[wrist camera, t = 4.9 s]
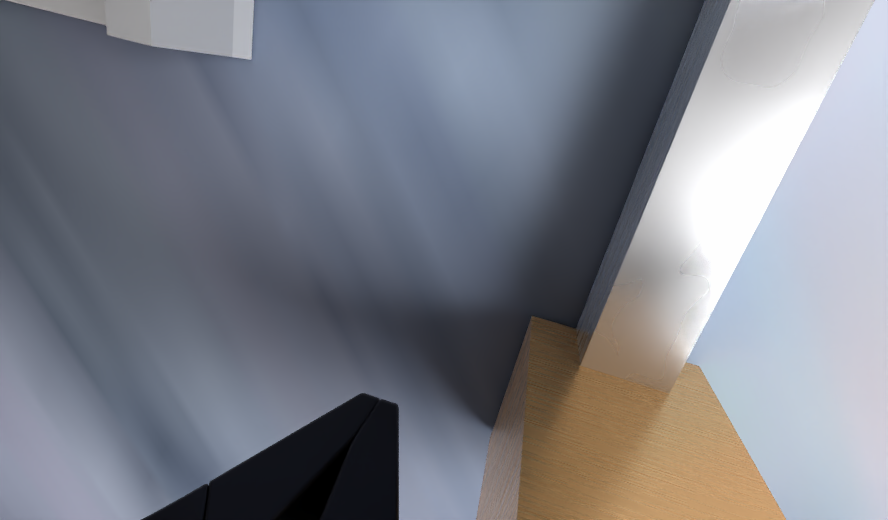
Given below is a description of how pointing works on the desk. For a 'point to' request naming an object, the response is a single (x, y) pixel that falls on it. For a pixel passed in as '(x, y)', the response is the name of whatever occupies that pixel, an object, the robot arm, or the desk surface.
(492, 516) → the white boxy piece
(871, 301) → the desk surface
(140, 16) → the gray square tray
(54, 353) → the desk surface
